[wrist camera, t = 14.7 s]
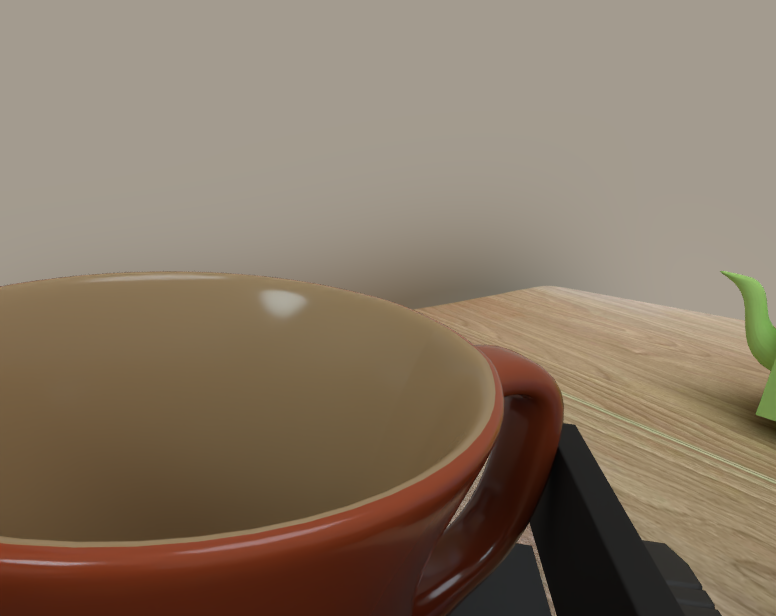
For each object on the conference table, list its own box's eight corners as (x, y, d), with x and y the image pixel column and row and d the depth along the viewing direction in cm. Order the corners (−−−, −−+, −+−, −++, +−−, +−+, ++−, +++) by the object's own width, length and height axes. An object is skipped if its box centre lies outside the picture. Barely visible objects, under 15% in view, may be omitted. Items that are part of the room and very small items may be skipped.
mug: (-226, 1594, 5) (-815, 833, 2) (-36, 703, 13) (-98, 269, 10) (624, 859, 11) (791, 408, 8) (407, 560, 19) (453, 270, 16)
